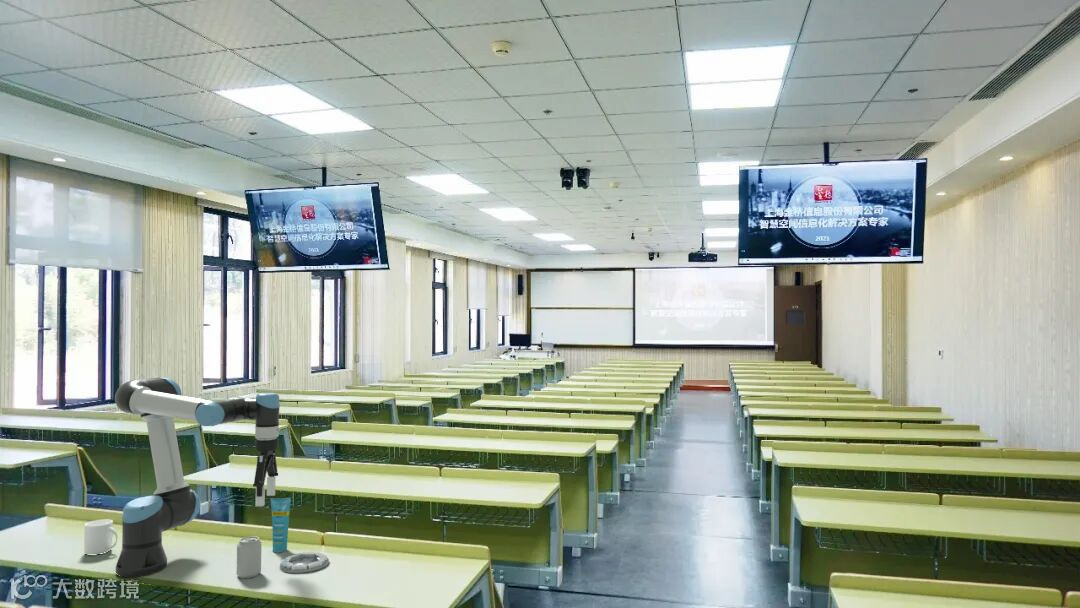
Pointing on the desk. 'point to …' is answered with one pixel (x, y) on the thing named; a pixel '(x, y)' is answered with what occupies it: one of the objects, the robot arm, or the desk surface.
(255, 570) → the can
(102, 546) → the mug
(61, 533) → the desk surface
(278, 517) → the tube
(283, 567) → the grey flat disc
